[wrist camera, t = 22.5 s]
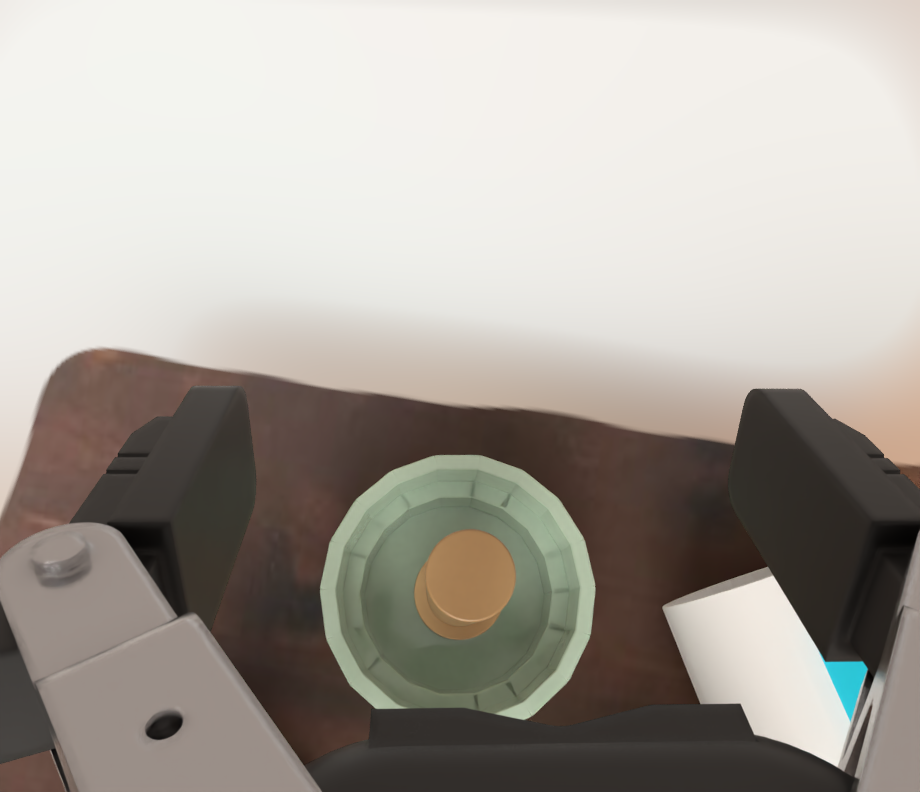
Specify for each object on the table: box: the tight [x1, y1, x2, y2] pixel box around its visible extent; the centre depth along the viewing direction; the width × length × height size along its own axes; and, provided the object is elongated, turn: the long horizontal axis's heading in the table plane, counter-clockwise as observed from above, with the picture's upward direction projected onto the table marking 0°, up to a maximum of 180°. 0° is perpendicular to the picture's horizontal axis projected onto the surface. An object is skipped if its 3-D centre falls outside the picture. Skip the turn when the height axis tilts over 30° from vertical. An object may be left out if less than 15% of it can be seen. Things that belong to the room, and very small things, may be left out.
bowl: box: [320, 455, 596, 720], centre depth 31 cm, size 10×10×6 cm
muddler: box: [414, 529, 516, 640], centre depth 27 cm, size 4×4×12 cm
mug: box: [662, 567, 868, 767], centre depth 29 cm, size 12×9×12 cm
